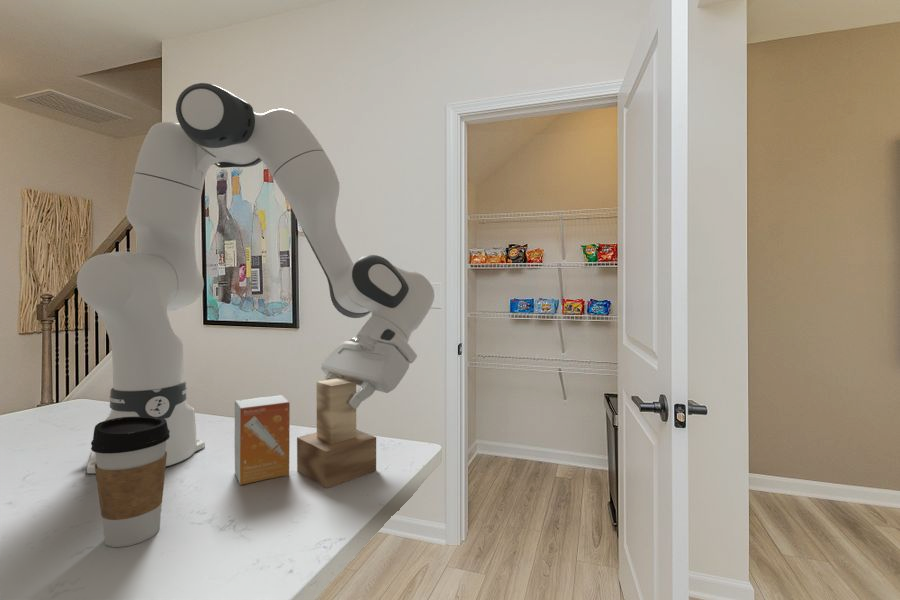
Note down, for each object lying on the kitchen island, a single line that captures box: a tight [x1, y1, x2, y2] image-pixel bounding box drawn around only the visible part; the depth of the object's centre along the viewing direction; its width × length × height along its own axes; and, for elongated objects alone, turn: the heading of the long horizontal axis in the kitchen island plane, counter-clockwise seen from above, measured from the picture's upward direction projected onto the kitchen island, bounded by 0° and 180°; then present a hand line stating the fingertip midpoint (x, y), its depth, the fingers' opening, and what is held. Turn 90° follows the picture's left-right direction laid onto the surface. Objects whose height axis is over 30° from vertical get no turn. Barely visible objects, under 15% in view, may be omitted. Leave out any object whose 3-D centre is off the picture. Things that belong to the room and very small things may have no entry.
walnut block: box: [296, 429, 377, 489], centre depth 79 cm, size 10×10×6 cm
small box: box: [234, 394, 291, 486], centre depth 77 cm, size 8×6×13 cm
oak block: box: [316, 378, 357, 444], centre depth 79 cm, size 5×5×10 cm
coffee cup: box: [90, 417, 170, 548], centre depth 58 cm, size 8×8×15 cm
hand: (335, 401), depth 79 cm, fingers open, 8 cm apart
